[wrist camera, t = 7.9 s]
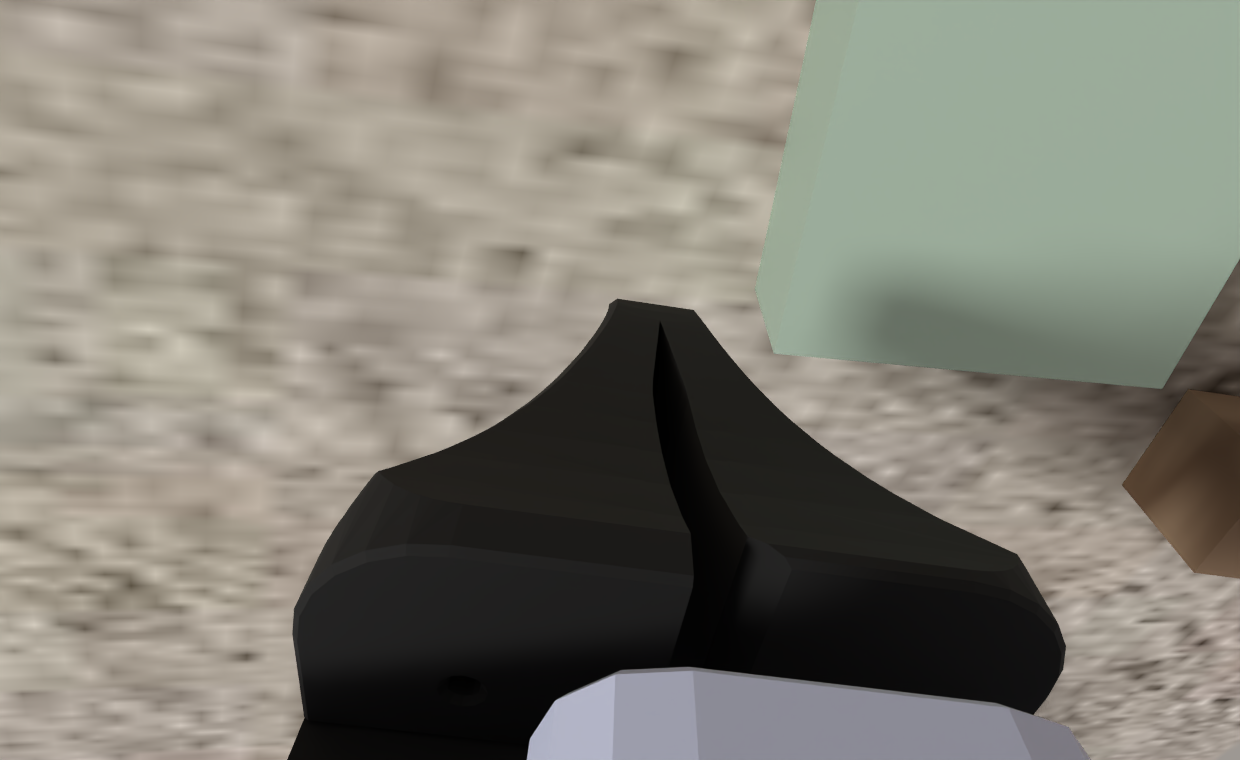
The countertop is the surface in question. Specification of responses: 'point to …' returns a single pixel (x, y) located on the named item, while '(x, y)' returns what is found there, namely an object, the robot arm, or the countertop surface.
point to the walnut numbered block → (1195, 482)
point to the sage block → (1008, 186)
